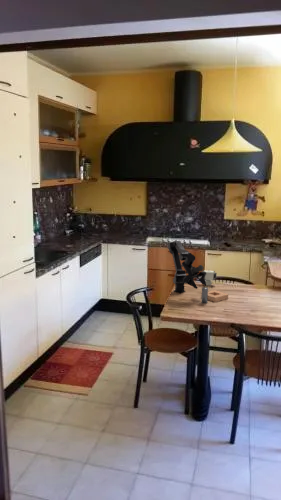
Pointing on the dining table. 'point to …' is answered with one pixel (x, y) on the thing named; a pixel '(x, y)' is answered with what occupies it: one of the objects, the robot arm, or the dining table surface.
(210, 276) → the pneumatic valve
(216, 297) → the docking socket
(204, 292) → the cylinder
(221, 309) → the dining table surface
